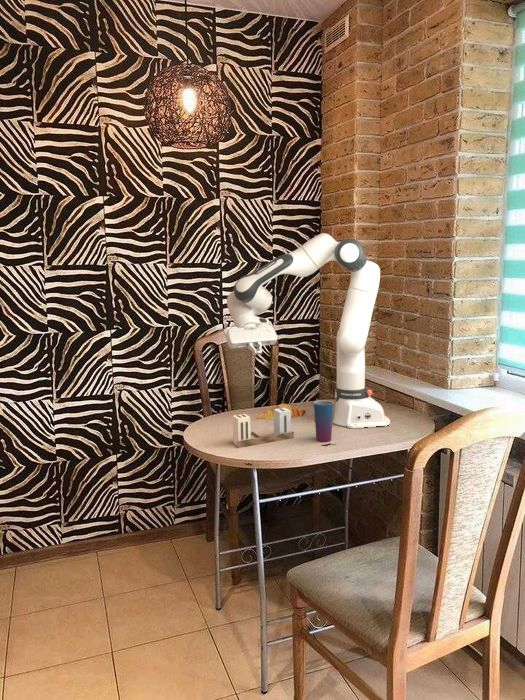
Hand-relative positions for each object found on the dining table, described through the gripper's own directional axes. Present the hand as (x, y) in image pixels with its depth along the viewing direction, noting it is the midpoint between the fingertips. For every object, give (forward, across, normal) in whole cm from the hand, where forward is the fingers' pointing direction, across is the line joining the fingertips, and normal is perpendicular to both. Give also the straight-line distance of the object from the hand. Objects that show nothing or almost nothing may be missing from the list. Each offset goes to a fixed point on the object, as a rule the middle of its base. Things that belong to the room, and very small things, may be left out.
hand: (258, 353), depth 212 cm
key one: (+32, 0, +7) cm, 33 cm away
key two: (+32, -16, +7) cm, 37 cm away
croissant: (+16, +13, +26) cm, 33 cm away
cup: (+41, +11, +1) cm, 42 cm away
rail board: (+31, -8, +10) cm, 34 cm away
